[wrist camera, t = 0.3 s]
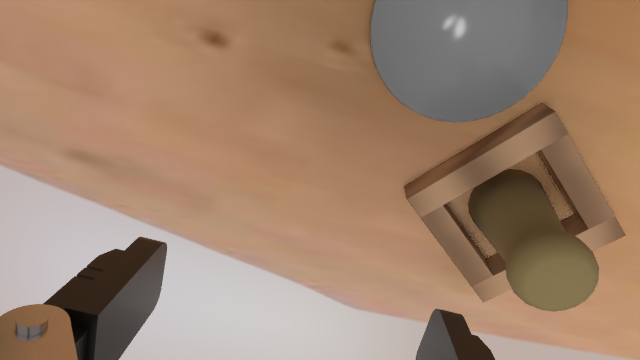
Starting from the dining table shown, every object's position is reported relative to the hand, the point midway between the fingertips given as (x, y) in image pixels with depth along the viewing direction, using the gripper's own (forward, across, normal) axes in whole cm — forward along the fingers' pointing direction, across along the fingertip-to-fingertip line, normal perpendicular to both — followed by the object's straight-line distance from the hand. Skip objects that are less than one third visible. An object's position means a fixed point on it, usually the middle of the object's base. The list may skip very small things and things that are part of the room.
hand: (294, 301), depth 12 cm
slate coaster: (+22, -8, -10) cm, 25 cm away
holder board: (+23, -16, +2) cm, 28 cm away
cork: (+23, -16, +1) cm, 28 cm away
